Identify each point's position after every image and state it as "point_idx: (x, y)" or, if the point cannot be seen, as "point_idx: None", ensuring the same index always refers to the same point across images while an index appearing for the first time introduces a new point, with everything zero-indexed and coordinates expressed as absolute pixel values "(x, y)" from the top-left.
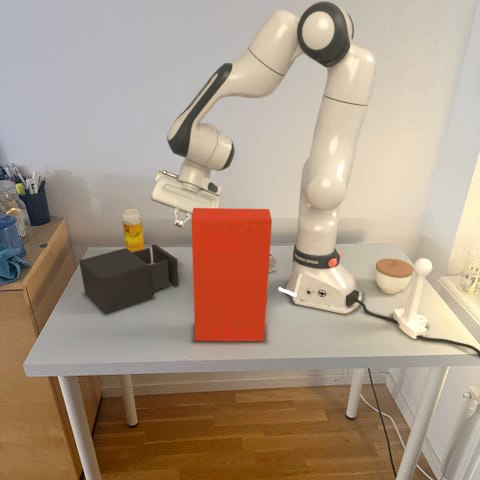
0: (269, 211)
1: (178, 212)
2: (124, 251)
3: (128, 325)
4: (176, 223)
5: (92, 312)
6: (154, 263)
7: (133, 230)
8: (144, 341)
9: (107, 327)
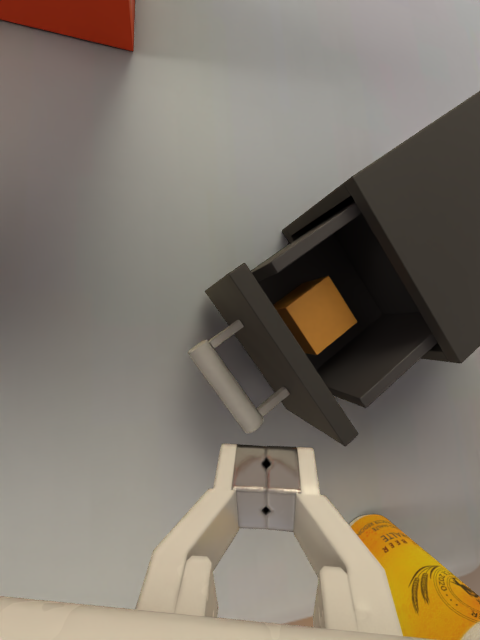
0: None
1: (322, 575)
2: (461, 324)
3: (327, 95)
4: (293, 454)
5: None
6: (326, 236)
7: (450, 595)
8: (279, 8)
9: (373, 97)
